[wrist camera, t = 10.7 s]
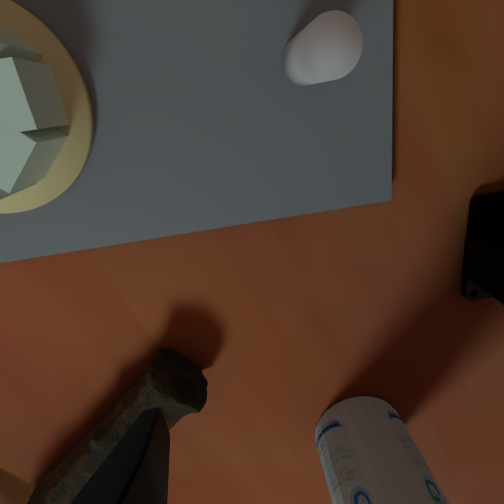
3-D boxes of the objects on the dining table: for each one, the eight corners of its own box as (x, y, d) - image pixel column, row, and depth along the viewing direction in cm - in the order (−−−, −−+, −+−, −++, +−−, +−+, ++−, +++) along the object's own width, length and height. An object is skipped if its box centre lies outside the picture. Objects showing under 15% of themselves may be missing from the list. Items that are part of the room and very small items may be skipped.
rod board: (383, -151, 14) (485, -310, 9) (383, 195, 20) (447, 231, 14) (-193, -68, 14) (-468, -180, 8) (-32, 262, 19) (-133, 326, 14)
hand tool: (163, 333, 22) (148, 388, 18) (212, 369, 24) (208, 428, 19) (-6, 495, 26) (-51, 570, 22) (42, 518, 28) (9, 593, 23)
